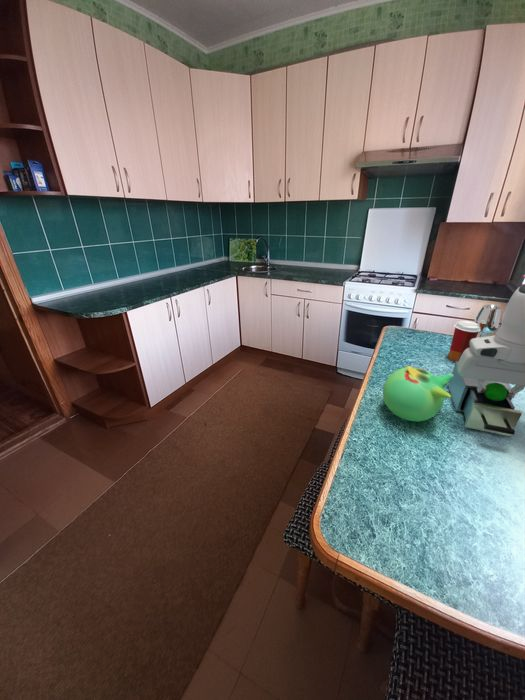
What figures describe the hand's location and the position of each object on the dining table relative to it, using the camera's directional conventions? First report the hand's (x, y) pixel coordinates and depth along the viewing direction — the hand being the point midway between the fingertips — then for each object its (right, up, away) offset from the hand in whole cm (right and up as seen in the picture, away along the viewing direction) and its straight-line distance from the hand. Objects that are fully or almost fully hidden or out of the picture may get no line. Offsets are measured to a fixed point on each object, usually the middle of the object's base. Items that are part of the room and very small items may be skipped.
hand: (494, 394), depth 78 cm
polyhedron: (0, -2, +1) cm, 2 cm away
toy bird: (-18, -7, +9) cm, 22 cm away
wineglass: (+25, +10, +41) cm, 49 cm away
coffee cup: (+15, +8, +37) cm, 41 cm away
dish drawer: (0, -8, +4) cm, 9 cm away
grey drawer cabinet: (+4, -4, +13) cm, 15 cm away
